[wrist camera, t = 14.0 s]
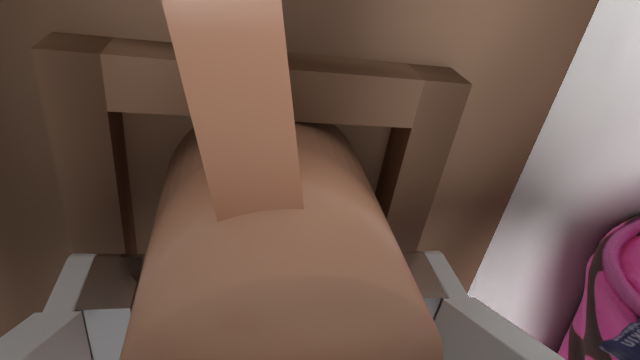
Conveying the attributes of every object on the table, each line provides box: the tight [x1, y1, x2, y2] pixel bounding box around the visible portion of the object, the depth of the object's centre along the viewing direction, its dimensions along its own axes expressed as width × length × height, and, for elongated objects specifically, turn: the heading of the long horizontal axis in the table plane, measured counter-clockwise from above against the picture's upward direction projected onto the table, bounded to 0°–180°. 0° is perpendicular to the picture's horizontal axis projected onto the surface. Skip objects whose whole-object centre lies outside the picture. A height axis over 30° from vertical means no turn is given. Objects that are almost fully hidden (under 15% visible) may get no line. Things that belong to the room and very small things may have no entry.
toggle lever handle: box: [119, 0, 444, 360], centre depth 8 cm, size 10×5×6 cm, turn 4°
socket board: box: [0, 0, 599, 338], centre depth 12 cm, size 16×16×2 cm
